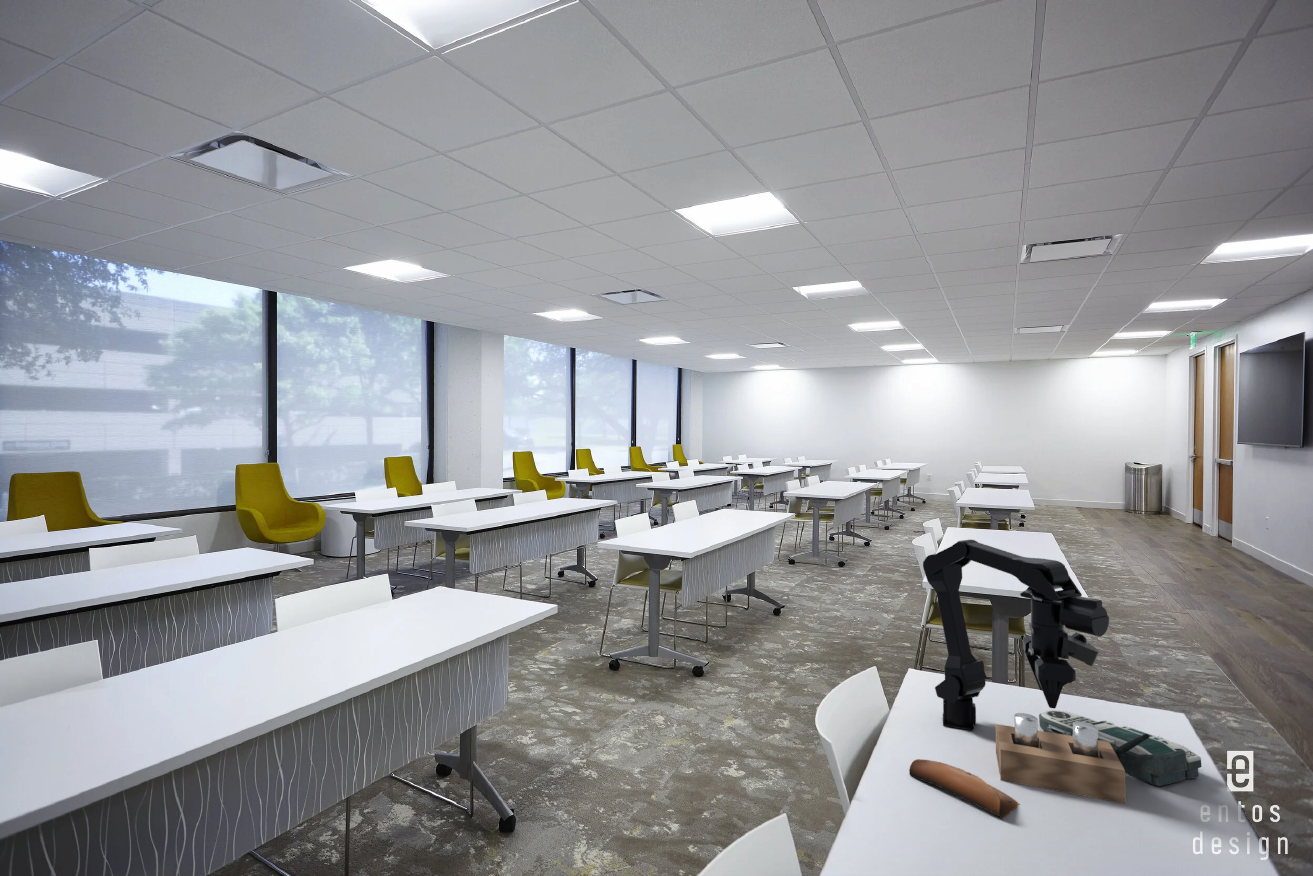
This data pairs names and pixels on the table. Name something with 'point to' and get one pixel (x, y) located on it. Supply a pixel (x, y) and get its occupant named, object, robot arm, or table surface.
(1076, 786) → the pin block
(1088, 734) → the pin
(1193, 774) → the communication device
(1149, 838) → the table surface
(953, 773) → the sunglasses case
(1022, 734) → the pin
